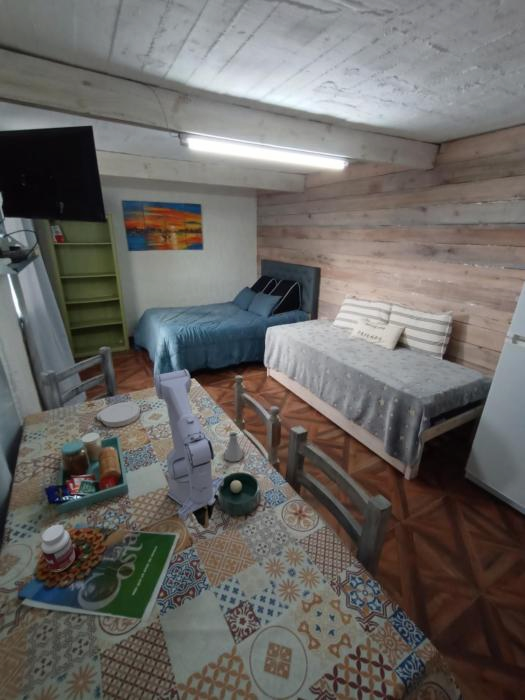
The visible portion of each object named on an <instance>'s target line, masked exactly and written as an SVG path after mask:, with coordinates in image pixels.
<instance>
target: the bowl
mask: <svg viewBox="0 0 525 700" xmlns="http://www.w3.org/2000/svg"><path fill="white" fill-rule="evenodd" d="M222 479H223V482H224V485H223V486H219V488H218V490H217V492H218V493H217V495H218V504H219V506H220V508H221V509H222V511H223V512H225V513H226V514H228V515H231V516H239V517H240V516H245V515H248V514H250V513H251V512H253V511H254V510H255V509H256V508H257V507H258V504H259V502H260V484H259V481H258V479H257V478H256V477H255V476H254V475H252V474H250V473H247V472H244V471H243V472H242V471H241V472H240V471H239V472H233V473H229V474H228V475H226V476H224V477H223V478H222ZM235 480H238V481H240V482H241V484H242V489H241V491H240V492H238V493H233V492H232V491H231V490H230V484H231V483H232V482H233V481H235Z"/></svg>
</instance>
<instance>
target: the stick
mask: <svg viewBox="0 0 525 700" xmlns="http://www.w3.org/2000/svg"><path fill="white" fill-rule="evenodd" d="M203 507H204V508H206V509H207V511H206V514H205V525H204V526H202V525H201V528H202V529H208V528H209V527H210V520H209V517H208V507H207V505H205V506H203Z"/></svg>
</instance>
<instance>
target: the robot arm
mask: <svg viewBox="0 0 525 700" xmlns="http://www.w3.org/2000/svg"><path fill="white" fill-rule="evenodd" d="M153 381H154V388H155V392H156V393H155V394H156V397H157V399H158V400H164V402H165V404H166V409H167V416H168V421H169V427H170V433H171V438H172V444H173V447H172V449H171V450H170V451H169V452H168V453H167V454H166V467H167V473H168V476H167V483H168V490H169V492H168V493H167V496H168V497H170V499H173V501H175V502H176V503H178V504H179V505H181V508H180V509H179V510H178V511H177V513H178V518H179V519H181V520H182V521H184V522H185V521H186V520H187V519H188V515H190V514H191V513H192V514H193V516H194V517H195V520H196V521H197V524H199V525H200V526H201V527H202V526H204V525H205V514H206V511H207V509H206V508H204V507H203V506H205V505H207V507H208V517H209V521H210V520H211V519H212V516H213V512H214V508H215V506H216V505H217V502H219V496H218V494H217V492H218V488H219V486H223V485H224V482H223V479H224V478H222V477H220V476H217V477H215V478H214V479H213V472H212V470H213V469H212V461H213V460H215V451H214V447H213V444H212V441H211V439H210V437H208V434H207V433H205V431H204V429H203V426H202V424H201V420H200V418H199V416H198V415H197V414H193V410H192V406H191V404H190V399H189V395H188V394H189V393H190V392H191V387H192V378H191V374H190V372H189V370H188V369H186V368H183V369H179V370H175V371H170V372H165V373H160V374H155V375H154V377H153Z"/></svg>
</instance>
